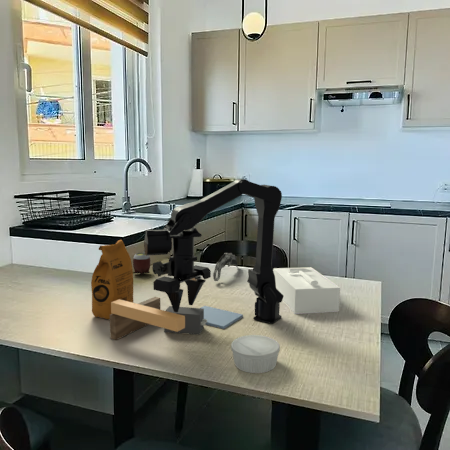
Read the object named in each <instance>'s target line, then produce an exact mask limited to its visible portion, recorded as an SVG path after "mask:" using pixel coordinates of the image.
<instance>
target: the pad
mask: <svg viewBox="0 0 450 450" xmlns="http://www.w3.org/2000/svg"><path fill="white" fill-rule="evenodd" d="M200 308H202V309H204V319H207V323H205V324H206V325H205V326H209V325H210V326H209V327H213V326H214V327H215V328H217V327H219V328H218V329H222V330H225V329H226V328H228V327H229V326H231V325H232V324H234V323H236V322H237V321H239V320H240V319H242V318H243V317H244V315H243V313H238V312H235V311H229V310H226V309H220V308H217V307H213V306H212V307H211V306H208V305H203V306H201V307H200Z"/></svg>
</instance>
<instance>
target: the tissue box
mask: <svg viewBox="0 0 450 450" xmlns="http://www.w3.org/2000/svg"><path fill="white" fill-rule="evenodd" d="M272 269H273V272H274V275H275V281H276V289H277V290H278V291H279V292H280V293H281V294H282V295H283V299H282V302H283V303H284V304H285V305H286V306H287V307H288V309H289V310H290V311H291V312H292V313H293V314H294V315H301V314H317V313H318V314H319V313H333V312H334V313H336V312H339V311H340V300H341V299H340V298H341V295H340V294H341V287H340V286H339V285H337V284H336V283H335V282H333V281H332V280H331V279H329V278H327V277H326V276H324V275H323V274H322V273H321V272H319V271H318V270H316V269H315V268H313V267H311V266H309V267H308V266H307V267H279V268H277V267H274V268H273V267H272Z"/></svg>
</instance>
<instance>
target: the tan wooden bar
mask: <svg viewBox="0 0 450 450" xmlns="http://www.w3.org/2000/svg"><path fill="white" fill-rule="evenodd" d="M111 313H112V314H116V315H119V316H123V317H126V318H130V319H133V320H137V321H141V322H144V323H148V324H149V325H150V326H151V325H152V326H155V327H159V328H161V329H164V328H165V329H169V330H173V331H176V332H178V331H180V330H182V329H184V328H185V316H183V315H179V314H175V313H171V312H168V311H166V310H163V309H161V308H160V309H156V308H152V307H148V306H144V305H140V304H138V303H136V302H133V303H132V302H128V301H124V300H120V299H119V300H116V301H113V302H111Z"/></svg>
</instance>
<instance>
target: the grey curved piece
mask: <svg viewBox="0 0 450 450" xmlns="http://www.w3.org/2000/svg"><path fill="white" fill-rule="evenodd" d="M226 265H227V267H230V266H233V265H234V266H235V267H236V268H238V259H237V256H236V255H235V254H233V253H232V252H224V253H223V255H221V256H220V257H219V259H218V261H217V262H216V263H215V265H214V269H213V270H214V271H213V273H212V278H213V281H215V282H218V281H220V279H221V272H222V269H223V268H225V267H226Z"/></svg>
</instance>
